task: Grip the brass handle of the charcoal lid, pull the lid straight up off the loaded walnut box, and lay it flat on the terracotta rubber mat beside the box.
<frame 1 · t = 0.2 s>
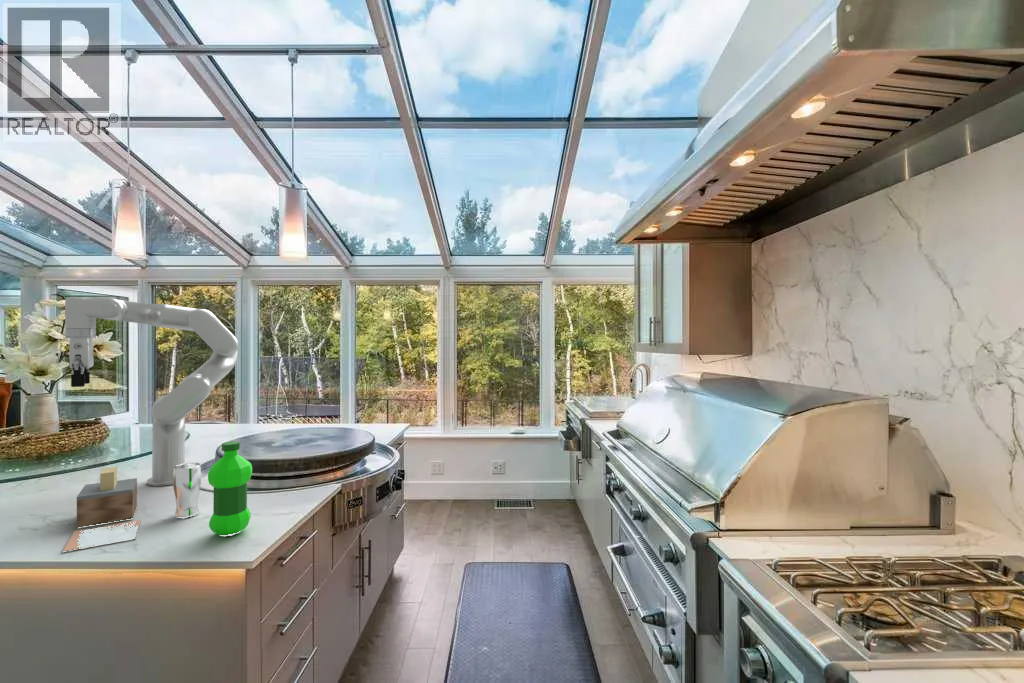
hand: (80, 385, 154), 37 cm above the worktop, tool pointing down, fingers open, 9 cm apart
plastic bottle: (230, 533, 126), on the worktop
walnut box: (108, 517, 135), on the worktop
lid: (108, 490, 135), point 8 cm above the worktop, touching walnut box
terracotta mat: (104, 536, 123), on the worktop
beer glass: (186, 515, 138), on the worktop
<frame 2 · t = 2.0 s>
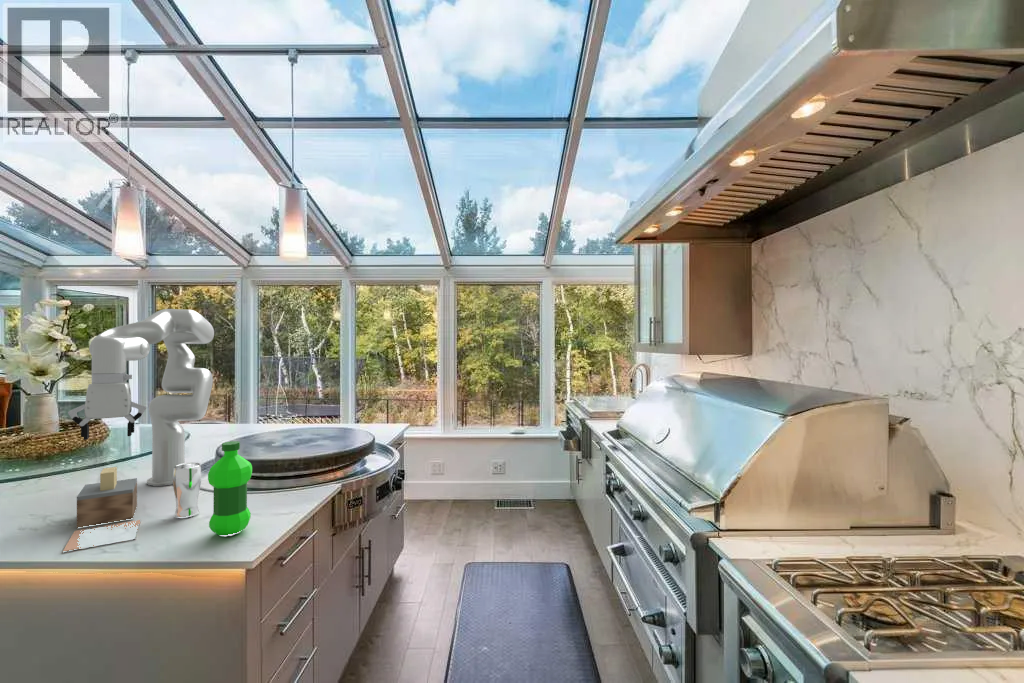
hand: (108, 437, 135), 24 cm above the worktop, tool pointing down, fingers open, 9 cm apart
nothing on the worktop moved.
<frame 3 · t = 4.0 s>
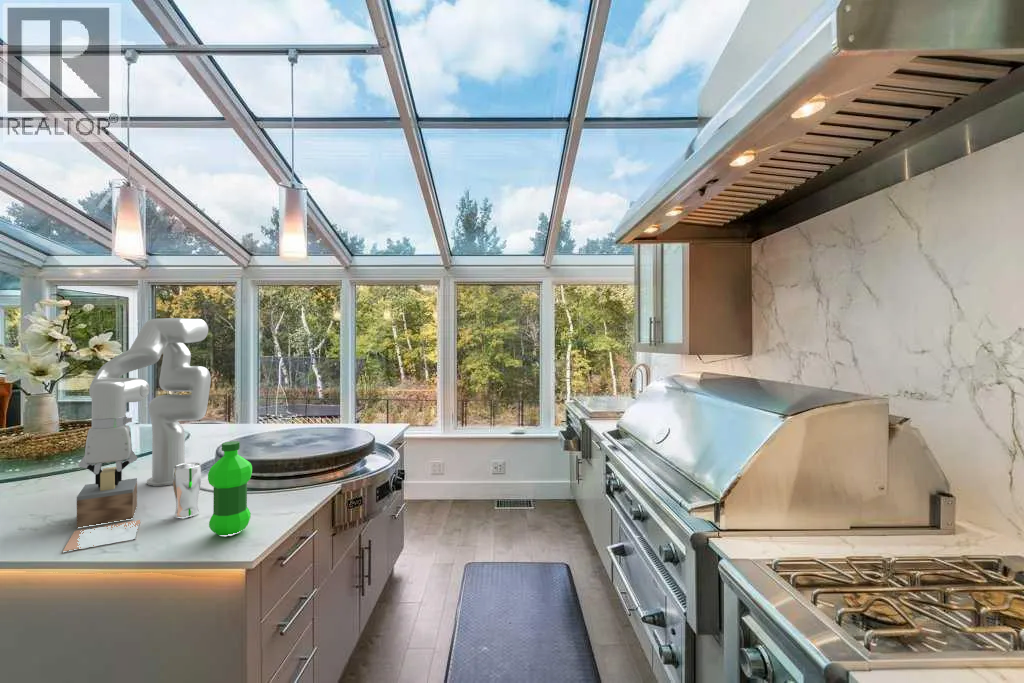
hand: (108, 484, 135), 10 cm above the worktop, tool pointing down, fingers closed on lid, 3 cm apart
lid: (108, 490, 135), point 8 cm above the worktop, touching gripper, walnut box
everything else where it was.
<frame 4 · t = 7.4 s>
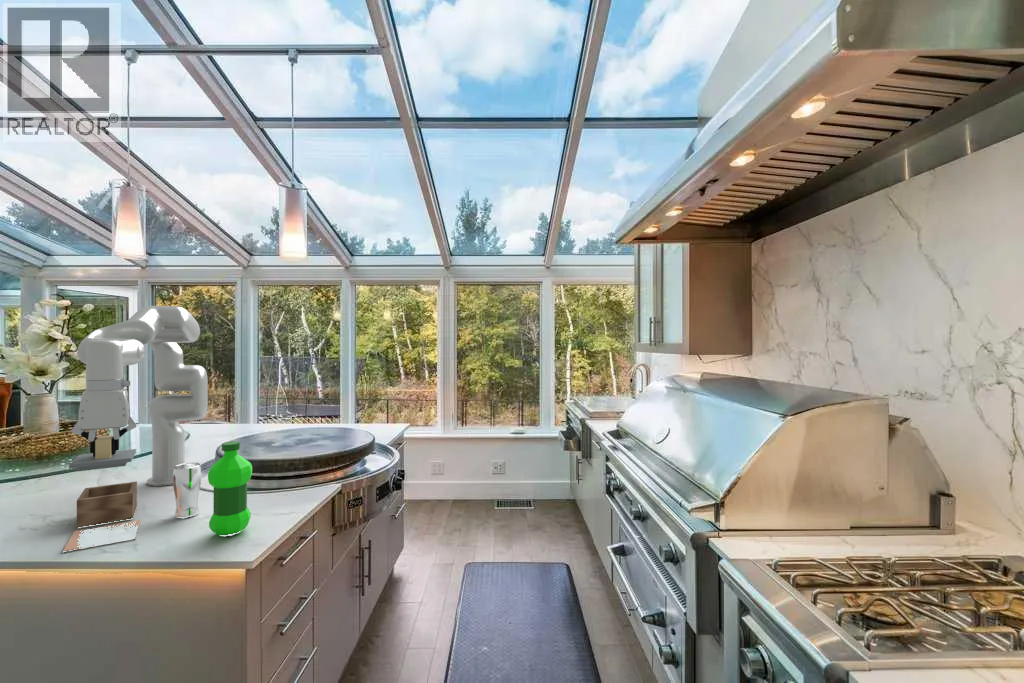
hand: (104, 453, 123), 22 cm above the worktop, tool pointing down, fingers closed on lid, 3 cm apart
lid: (104, 460, 123), point 21 cm above the worktop, touching gripper
everything else where it was.
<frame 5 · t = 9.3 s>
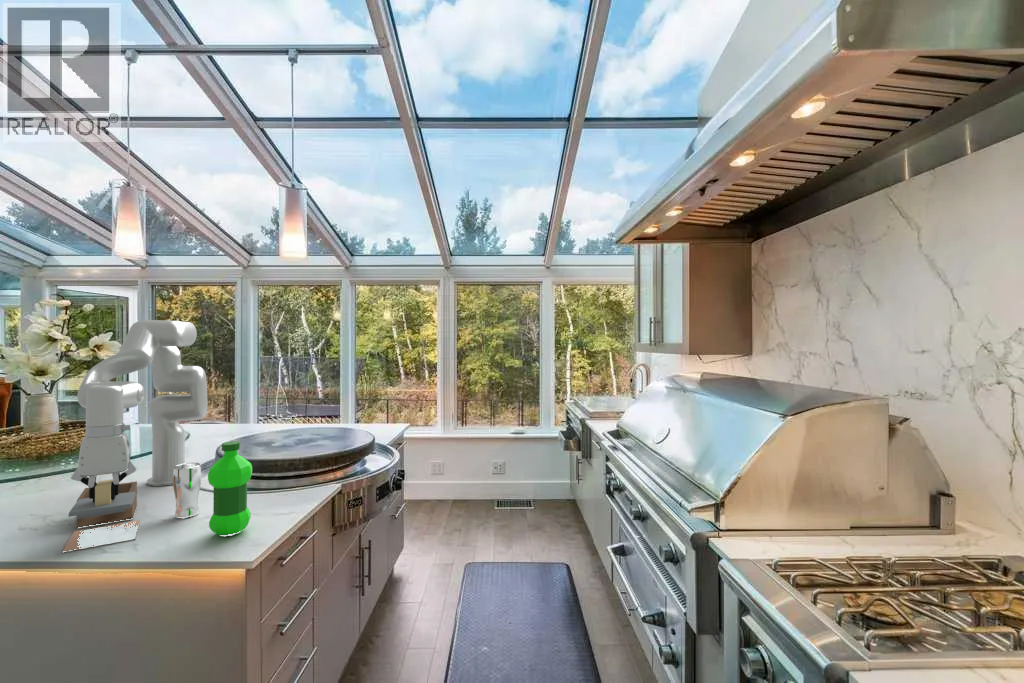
hand: (104, 498, 123), 10 cm above the worktop, tool pointing down, fingers closed on lid, 3 cm apart
lid: (104, 505, 123), point 8 cm above the worktop, touching gripper
everything else where it was.
when the fingers open (5 cm above the worktop, at t = 10.7 s): lid drops 2 cm, resting on terracotta mat.
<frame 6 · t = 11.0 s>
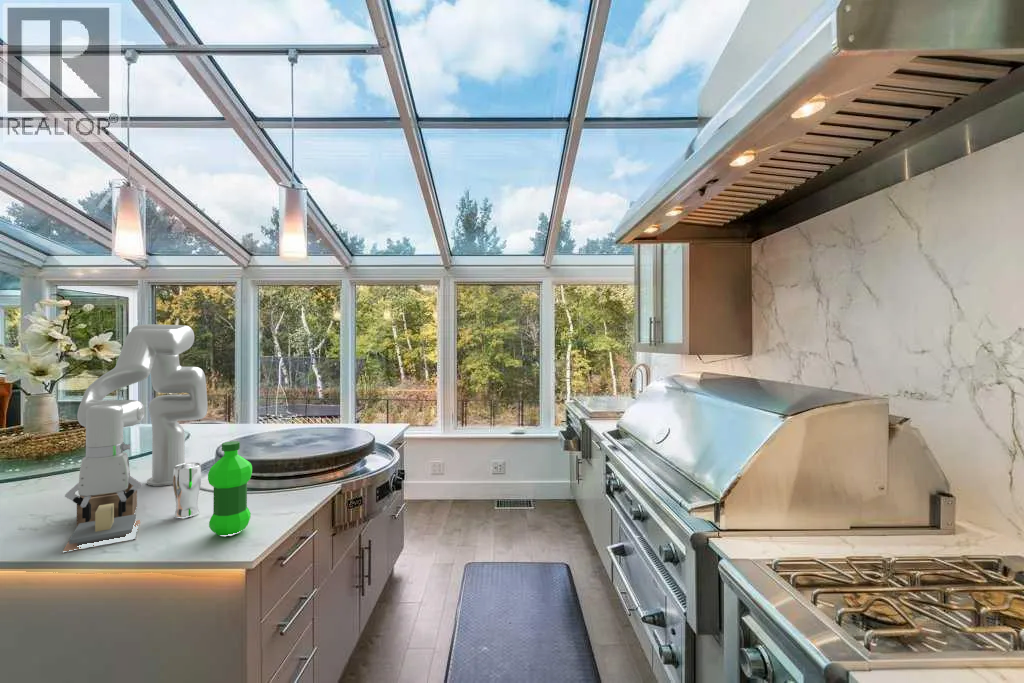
hand: (104, 517, 123), 5 cm above the worktop, tool pointing down, fingers open, 6 cm apart
lid: (104, 530, 123), point 2 cm above the worktop, touching terracotta mat
everything else where it was.
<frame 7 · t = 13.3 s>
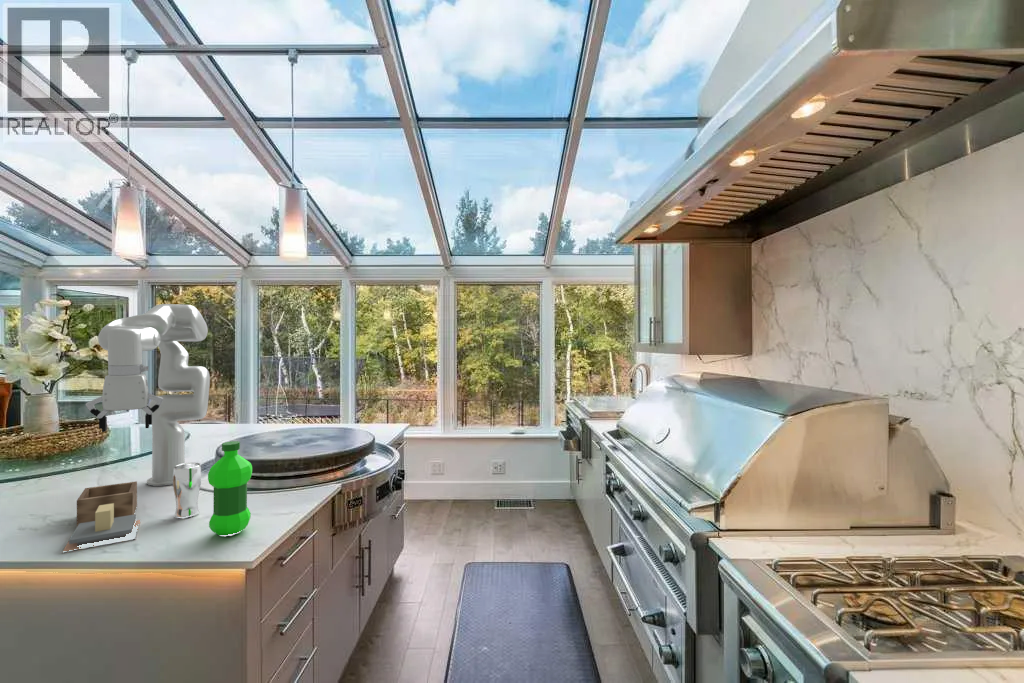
hand: (126, 429, 134), 27 cm above the worktop, tool pointing down, fingers open, 9 cm apart
nothing on the worktop moved.
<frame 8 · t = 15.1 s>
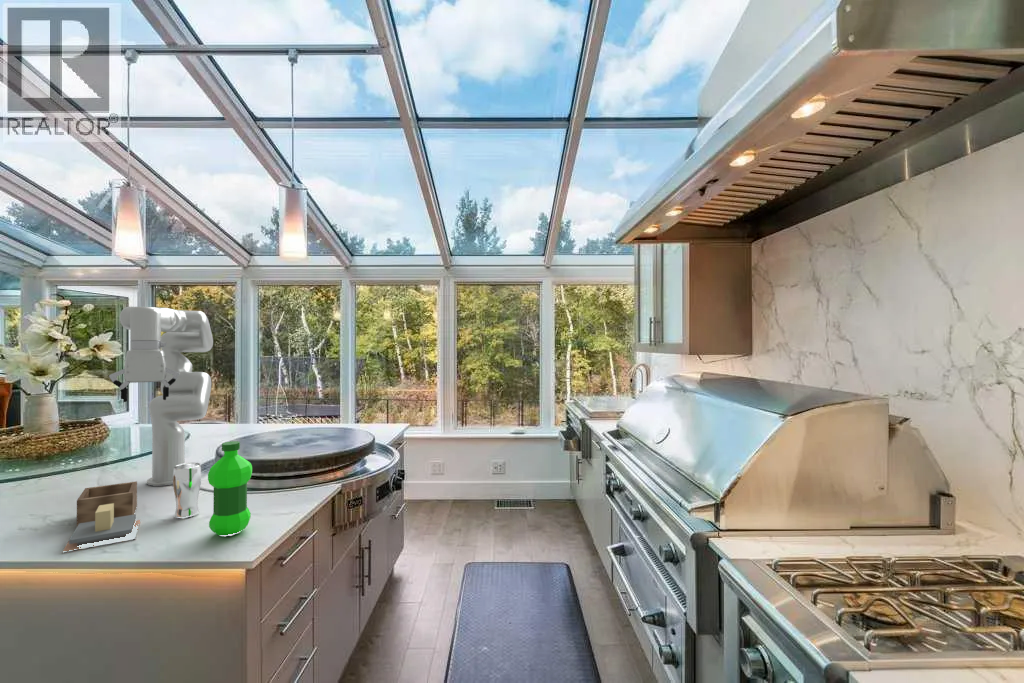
hand: (145, 400, 144), 33 cm above the worktop, tool pointing down, fingers open, 9 cm apart
nothing on the worktop moved.
at the end: lid inside the target area on the terracotta mat (0.2 cm from its centre), point 1.7 cm above the terracotta mat's base; lid tilted 0°; the gripper is holding nothing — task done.
